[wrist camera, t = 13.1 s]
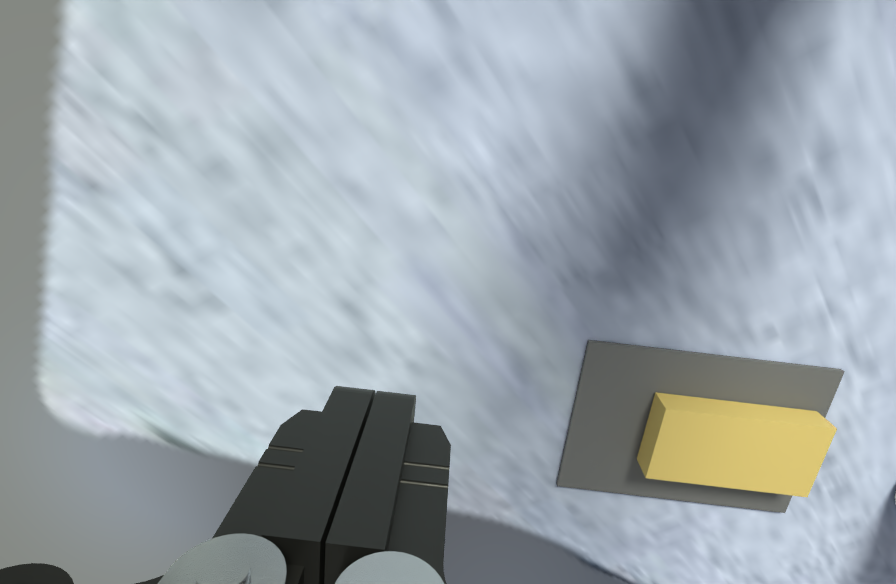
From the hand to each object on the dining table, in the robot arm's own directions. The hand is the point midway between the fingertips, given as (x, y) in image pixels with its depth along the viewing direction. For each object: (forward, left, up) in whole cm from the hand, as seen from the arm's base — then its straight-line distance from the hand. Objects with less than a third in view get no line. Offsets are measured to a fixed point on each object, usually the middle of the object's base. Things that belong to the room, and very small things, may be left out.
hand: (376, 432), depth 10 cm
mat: (-6, +27, -29) cm, 40 cm away
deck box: (-3, +25, -27) cm, 37 cm away
